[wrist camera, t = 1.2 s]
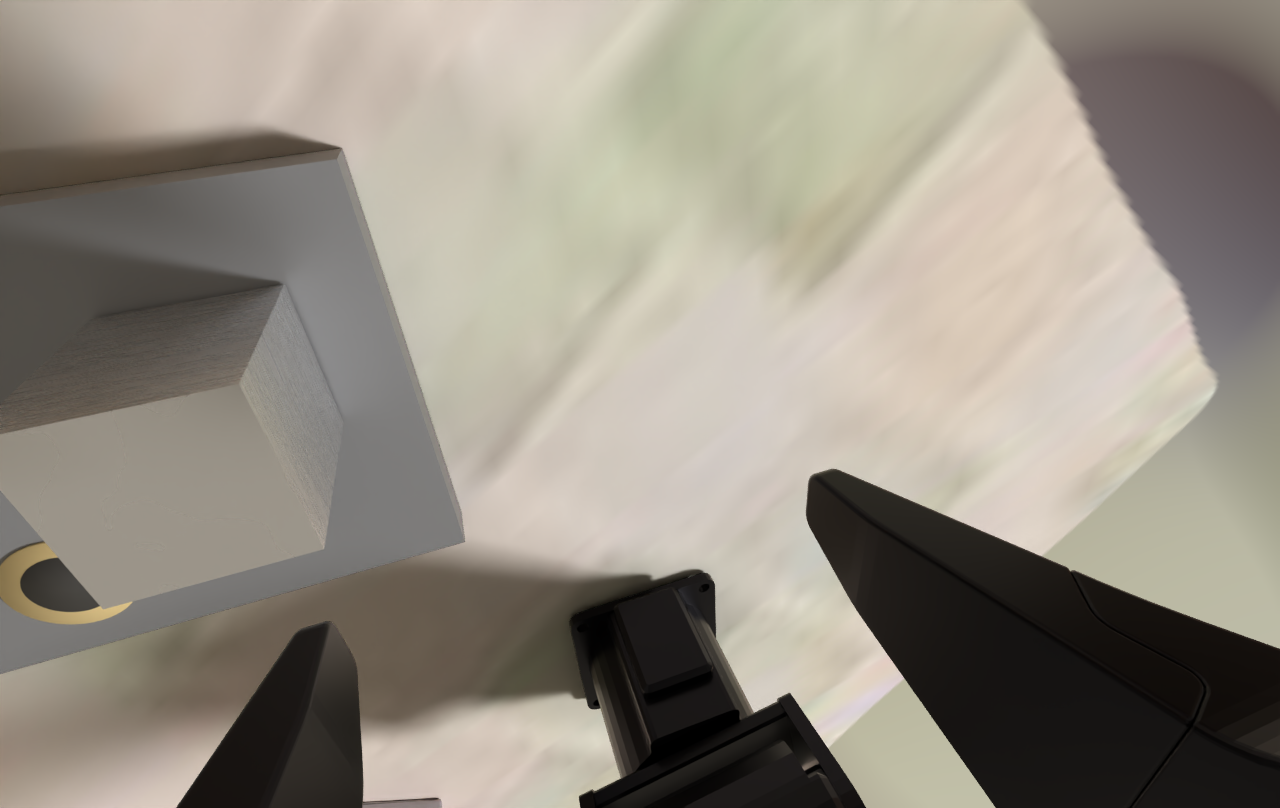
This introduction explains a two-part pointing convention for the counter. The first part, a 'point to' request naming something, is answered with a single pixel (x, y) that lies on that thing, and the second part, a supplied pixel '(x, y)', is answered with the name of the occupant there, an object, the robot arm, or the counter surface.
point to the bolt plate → (201, 268)
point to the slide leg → (175, 445)
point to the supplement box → (405, 804)
